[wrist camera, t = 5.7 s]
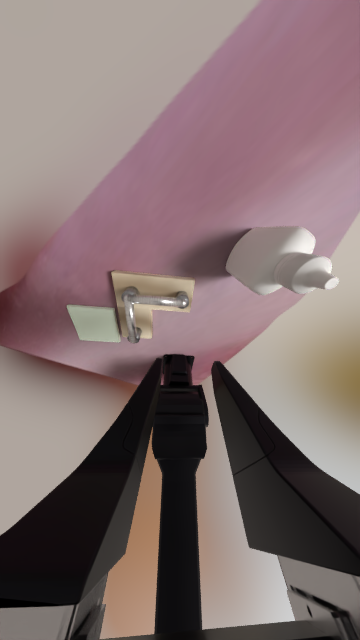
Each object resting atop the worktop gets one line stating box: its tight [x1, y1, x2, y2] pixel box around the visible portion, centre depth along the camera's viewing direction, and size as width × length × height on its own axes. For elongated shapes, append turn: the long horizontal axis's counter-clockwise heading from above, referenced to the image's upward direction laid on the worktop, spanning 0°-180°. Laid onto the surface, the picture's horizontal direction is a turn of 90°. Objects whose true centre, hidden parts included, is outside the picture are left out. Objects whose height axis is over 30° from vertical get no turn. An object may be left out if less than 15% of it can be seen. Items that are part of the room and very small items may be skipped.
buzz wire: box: [111, 270, 195, 343], centre depth 20 cm, size 11×11×4 cm
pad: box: [66, 304, 121, 343], centre depth 23 cm, size 7×7×1 cm
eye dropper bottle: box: [226, 226, 339, 295], centre depth 13 cm, size 4×6×12 cm
